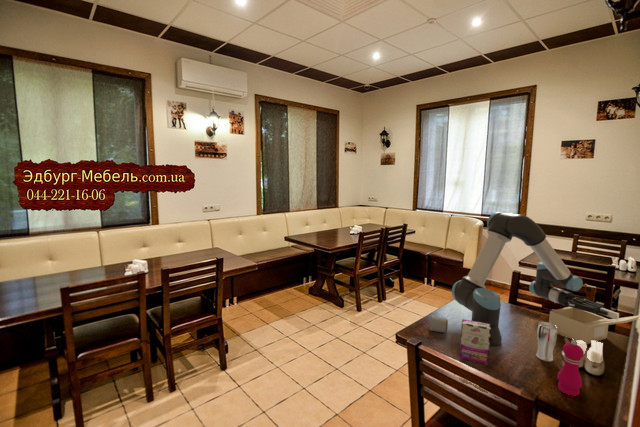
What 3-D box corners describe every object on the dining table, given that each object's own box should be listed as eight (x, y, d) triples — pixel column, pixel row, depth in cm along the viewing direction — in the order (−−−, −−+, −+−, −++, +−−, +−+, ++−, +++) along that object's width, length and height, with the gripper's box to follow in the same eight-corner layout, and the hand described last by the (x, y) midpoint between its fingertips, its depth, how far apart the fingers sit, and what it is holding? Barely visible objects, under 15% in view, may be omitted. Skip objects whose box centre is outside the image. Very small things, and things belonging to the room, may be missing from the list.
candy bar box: (487, 359, 135) (490, 323, 133) (488, 365, 130) (491, 328, 128) (459, 352, 140) (462, 318, 138) (459, 358, 135) (461, 323, 133)
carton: (583, 345, 146) (586, 325, 145) (548, 329, 161) (550, 311, 160) (607, 338, 152) (609, 319, 151) (570, 323, 167) (572, 305, 166)
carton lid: (585, 325, 145) (586, 327, 144) (624, 320, 131) (625, 322, 131) (609, 319, 151) (610, 321, 151) (648, 314, 137) (649, 316, 137)
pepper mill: (560, 394, 113) (566, 343, 111) (553, 382, 120) (558, 333, 117) (584, 400, 111) (591, 347, 108) (576, 387, 118) (582, 337, 115)
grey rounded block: (447, 335, 154) (448, 321, 153) (429, 333, 157) (430, 318, 156) (446, 326, 164) (446, 312, 163) (429, 323, 167) (430, 310, 166)
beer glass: (555, 364, 132) (558, 330, 130) (535, 358, 135) (538, 326, 133) (553, 356, 137) (557, 324, 135) (534, 351, 141) (537, 320, 139)
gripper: (569, 302, 165) (625, 322, 143) (552, 305, 161) (608, 326, 139) (570, 288, 164) (627, 306, 142) (554, 291, 160) (610, 310, 138)
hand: (617, 316), depth 141 cm, fingers closed
